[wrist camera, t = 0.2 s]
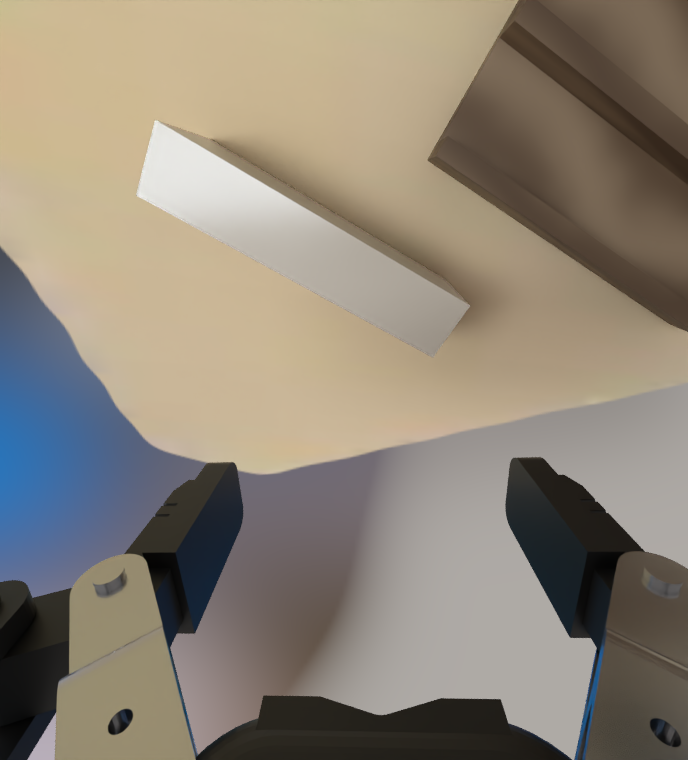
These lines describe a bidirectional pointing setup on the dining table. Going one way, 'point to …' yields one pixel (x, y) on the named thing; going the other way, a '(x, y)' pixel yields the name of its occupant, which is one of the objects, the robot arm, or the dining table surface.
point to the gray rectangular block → (297, 237)
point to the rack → (587, 138)
